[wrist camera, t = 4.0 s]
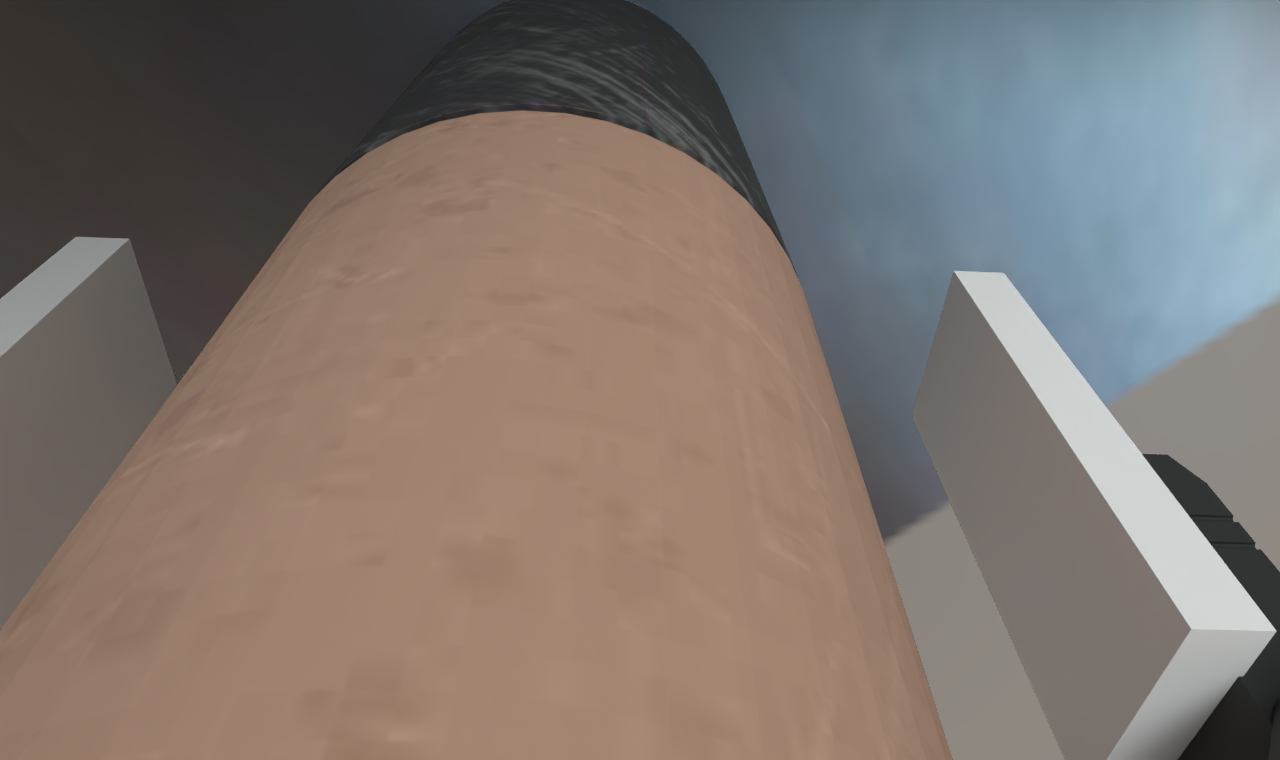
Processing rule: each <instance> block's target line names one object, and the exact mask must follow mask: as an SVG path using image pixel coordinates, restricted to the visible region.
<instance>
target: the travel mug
mask: <svg viewBox="0 0 1280 760" xmlns="http://www.w3.org/2000/svg"><path fill="white" fill-rule="evenodd" d="M0 760H953V759H952V756H951V753H950V750H949V746H948V743H947V740H946V737H945V734H944V731H943V728H942V724H941V721H940V718H939V715H938V712H937V709H936V706H935V702H934V699H933V697H932V693H931V690H930V687H929V684H928V681H927V677H926V675H925V671H924V668H923V665H922V662H921V659H920V655H919V652H918V650H917V646H916V643H915V640H914V637H913V634H912V630H911V628H910V625H909V621H908V618H907V615H906V612H905V609H904V605H903V602H902V599H901V596H900V593H899V590H898V587H897V583H896V580H895V578H894V574H893V571H892V568H891V565H890V562H889V558H888V555H887V552H886V549H885V546H884V543H883V540H882V536H881V533H880V530H879V527H878V524H877V521H876V518H875V515H874V511H873V508H872V505H871V502H870V499H869V496H868V493H867V489H866V486H865V483H864V480H863V477H862V474H861V471H860V468H859V464H858V461H857V458H856V455H855V452H854V449H853V446H852V442H851V439H850V436H849V433H848V430H847V427H846V424H845V421H844V417H843V414H842V411H841V408H840V405H839V402H838V399H837V396H836V392H835V389H834V386H833V383H832V380H831V377H830V374H829V370H828V367H827V364H826V361H825V358H824V355H823V352H822V349H821V345H820V342H819V339H818V336H817V333H816V330H815V327H814V323H813V320H812V317H811V314H810V311H809V308H808V305H807V302H806V298H805V295H804V292H803V289H802V287H801V284H800V282H799V280H798V277H797V274H796V271H795V269H794V266H793V264H792V261H791V259H790V257H789V254H788V252H787V249H786V247H785V244H784V242H783V239H782V237H781V235H780V232H779V230H778V227H777V225H776V222H775V220H774V218H773V215H772V213H771V210H770V208H769V205H768V203H767V201H766V198H765V196H764V193H763V191H762V188H761V186H760V184H759V181H758V179H757V176H756V174H755V171H754V169H753V166H752V164H751V162H750V159H749V157H748V154H747V152H746V149H745V147H744V145H743V142H742V140H741V137H740V135H739V132H738V130H737V128H736V125H735V123H734V120H733V118H732V116H731V113H730V111H729V109H728V106H727V104H726V102H725V100H724V97H723V95H722V93H721V91H720V89H719V86H718V84H717V83H716V81H715V79H714V78H713V76H712V74H711V73H710V71H709V69H708V68H707V66H706V64H705V63H704V61H703V60H702V59H701V58H700V56H699V55H698V54H697V53H696V51H695V50H694V49H693V48H692V46H691V45H690V44H689V43H688V42H687V41H686V40H685V39H684V38H683V37H682V36H681V35H680V34H679V33H678V32H676V31H675V30H674V29H673V28H672V27H671V26H669V25H668V24H666V23H665V22H664V21H662V20H661V19H659V18H658V17H657V16H655V15H654V14H652V13H650V12H648V11H646V10H644V9H642V8H640V7H638V6H636V5H635V4H632V3H629V2H627V1H624V0H511V1H508V2H506V3H503V4H501V5H499V6H497V7H495V8H493V9H492V10H490V11H488V12H486V13H484V14H483V15H481V16H480V17H478V18H477V19H476V20H474V21H473V22H472V23H470V24H469V25H468V26H466V27H465V28H464V29H463V30H461V31H460V32H459V33H458V34H457V35H456V36H455V37H454V38H453V39H452V40H451V41H450V42H449V43H448V44H447V45H446V46H445V47H444V48H443V49H442V50H441V52H440V53H439V54H438V55H437V56H436V57H435V58H434V59H433V60H432V61H431V62H430V63H429V64H428V66H427V67H426V68H425V69H424V70H423V71H422V73H421V74H420V75H419V76H418V77H417V78H416V79H415V81H414V82H413V83H412V84H411V85H410V86H409V88H408V89H407V90H406V91H405V92H404V93H403V95H402V96H401V97H400V98H399V99H398V100H397V101H396V103H395V104H394V105H393V106H392V107H391V108H390V110H389V111H388V112H387V113H386V114H385V115H384V116H383V118H382V119H381V120H380V121H379V122H378V123H377V125H376V126H375V127H374V128H373V129H372V130H371V131H370V133H369V134H368V135H367V136H366V137H365V138H364V140H363V141H362V142H361V143H360V144H359V145H358V146H357V148H356V149H355V150H354V151H353V152H352V153H351V155H350V156H349V157H348V158H347V159H346V160H345V161H344V163H343V164H342V165H341V166H340V167H339V168H338V170H337V171H336V172H335V173H334V174H333V175H332V177H331V178H330V179H329V180H328V181H327V182H326V183H325V185H324V186H323V187H322V188H321V189H320V190H319V192H318V193H317V195H316V196H315V197H314V198H313V200H312V201H311V202H310V203H309V204H308V205H307V207H306V208H305V209H304V211H303V212H302V214H301V215H300V216H299V218H298V219H297V220H296V222H295V223H294V225H293V226H292V227H291V229H290V230H289V232H288V233H287V234H286V236H285V237H284V238H283V240H282V241H281V243H280V244H279V245H278V247H277V248H276V250H275V251H274V252H273V254H272V255H271V256H270V258H269V259H268V261H267V262H266V263H265V265H264V266H263V267H262V269H261V270H260V272H259V273H258V274H257V276H256V277H255V279H254V280H253V281H252V283H251V284H250V285H249V287H248V288H247V290H246V291H245V292H244V294H243V295H242V297H241V298H240V299H239V301H238V302H237V303H236V305H235V306H234V308H233V309H232V310H231V312H230V313H229V315H228V316H227V317H226V319H225V320H224V321H223V323H222V324H221V326H220V327H219V328H218V330H217V331H216V332H215V334H214V335H213V337H212V338H211V339H210V341H209V342H208V344H207V345H206V346H205V348H204V349H203V350H202V352H201V353H200V355H199V356H198V357H197V359H196V360H195V362H194V363H193V364H192V366H191V367H190V368H189V370H188V371H187V373H186V374H185V375H184V377H183V378H182V379H181V381H180V382H179V384H178V385H177V386H176V388H175V389H174V391H173V392H172V393H171V395H170V396H169V397H168V399H167V400H166V402H165V403H164V404H163V406H162V407H161V409H160V410H159V411H158V413H157V414H156V415H155V417H154V418H153V420H152V421H151V422H150V424H149V425H148V427H147V428H146V429H145V431H144V432H143V433H142V435H141V436H140V438H139V439H138V440H137V442H136V443H135V444H134V446H133V447H132V449H131V450H130V451H129V453H128V454H127V456H126V457H125V458H124V460H123V461H122V462H121V464H120V465H119V467H118V468H117V469H116V471H115V472H114V474H113V475H112V476H111V478H110V479H109V480H108V482H107V483H106V485H105V486H104V487H103V489H102V490H101V492H100V493H99V494H98V496H97V497H96V498H95V500H94V501H93V503H92V504H91V505H90V507H89V508H88V509H87V511H86V512H85V514H84V515H83V516H82V518H81V519H80V521H79V522H78V523H77V525H76V526H75V527H74V529H73V530H72V532H71V533H70V534H69V536H68V537H67V539H66V540H65V541H64V543H63V544H62V545H61V547H60V548H59V550H58V551H57V552H56V554H55V555H54V557H53V558H52V559H51V561H50V562H49V563H48V565H47V566H46V568H45V569H44V570H43V572H42V573H41V574H40V576H39V577H38V579H37V580H36V581H35V583H34V584H33V586H32V587H31V588H30V590H29V591H28V592H27V594H26V595H25V597H24V598H23V599H22V601H21V602H20V604H19V605H18V606H17V608H16V609H15V610H14V612H13V613H12V615H11V616H10V617H9V619H8V620H7V621H6V623H5V624H4V626H3V627H2V628H1V630H0Z"/></svg>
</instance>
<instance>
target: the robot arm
mask: <svg viewBox="0 0 1280 760" xmlns="http://www.w3.org/2000/svg"><path fill="white" fill-rule="evenodd" d="M176 386H177V383H176V380H175V377H174V374H173V371H172V368H171V365H170V362H169V359H168V355H167V352H166V349H165V346H164V343H163V340H162V337H161V334H160V331H159V328H158V325H157V322H156V319H155V315H154V312H153V309H152V306H151V303H150V300H149V297H148V294H147V291H146V288H145V285H144V282H143V279H142V275H141V272H140V269H139V266H138V263H137V260H136V257H135V254H134V251H133V248H132V245H131V242H130V239H122V238H96V237H75V238H74V239H73V240H71V241H70V242H69V243H68V244H66V245H65V246H64V247H63V248H62V249H60V250H59V251H58V252H57V253H55V254H54V255H53V256H52V257H51V258H49V259H48V260H47V261H46V262H45V263H43V264H42V265H41V266H40V267H38V268H37V269H36V270H35V271H34V272H32V273H31V274H30V275H29V276H27V277H26V278H25V279H24V280H23V281H21V282H20V283H19V284H18V285H17V286H15V287H14V288H13V289H12V290H10V291H9V292H8V293H7V294H6V295H4V296H3V297H2V298H1V299H0V630H1V628H2V627H3V626H4V624H5V623H6V621H7V620H8V619H9V617H10V616H11V615H12V613H13V612H14V610H15V609H16V608H17V606H18V605H19V604H20V602H21V601H22V599H23V598H24V597H25V595H26V594H27V592H28V591H29V590H30V588H31V587H32V586H33V584H34V583H35V581H36V580H37V579H38V577H39V576H40V574H41V573H42V572H43V570H44V569H45V568H46V566H47V565H48V563H49V562H50V561H51V559H52V558H53V557H54V555H55V554H56V552H57V551H58V550H59V548H60V547H61V545H62V544H63V543H64V541H65V540H66V539H67V537H68V536H69V534H70V533H71V532H72V530H73V529H74V527H75V526H76V525H77V523H78V522H79V521H80V519H81V518H82V516H83V515H84V514H85V512H86V511H87V509H88V508H89V507H90V505H91V504H92V503H93V501H94V500H95V498H96V497H97V496H98V494H99V493H100V492H101V490H102V489H103V487H104V486H105V485H106V483H107V482H108V480H109V479H110V478H111V476H112V475H113V474H114V472H115V471H116V469H117V468H118V467H119V465H120V464H121V462H122V461H123V460H124V458H125V457H126V456H127V454H128V453H129V451H130V450H131V449H132V447H133V446H134V444H135V443H136V442H137V440H138V439H139V438H140V436H141V435H142V433H143V432H144V431H145V429H146V428H147V427H148V425H149V424H150V422H151V421H152V420H153V418H154V417H155V415H156V414H157V413H158V411H159V410H160V409H161V407H162V406H163V404H164V403H165V402H166V400H167V399H168V397H169V396H170V395H171V393H172V392H173V391H174V389H175V388H176ZM912 418H913V420H914V422H915V424H916V427H917V429H918V431H919V433H920V436H921V438H922V440H923V442H924V445H925V447H926V449H927V451H928V454H929V456H930V458H931V460H932V463H933V465H934V467H935V469H936V472H937V474H938V476H939V478H940V481H941V483H942V485H943V487H944V490H945V492H946V494H947V496H948V499H949V501H950V503H951V505H952V508H953V510H954V512H955V514H956V516H957V519H958V521H959V523H960V526H961V528H962V530H963V532H964V534H965V537H966V539H967V541H968V543H969V546H970V548H971V550H972V553H973V555H974V557H975V559H976V561H977V564H978V566H979V568H980V570H981V573H982V575H983V577H984V579H985V582H986V584H987V586H988V588H989V591H990V593H991V595H992V597H993V600H994V602H995V604H996V606H997V609H998V611H999V613H1000V615H1001V618H1002V620H1003V622H1004V625H1005V627H1006V629H1007V631H1008V633H1009V636H1010V638H1011V640H1012V642H1013V645H1014V647H1015V649H1016V651H1017V653H1018V656H1019V658H1020V660H1021V663H1022V665H1023V667H1024V669H1025V672H1026V674H1027V676H1028V678H1029V681H1030V683H1031V685H1032V687H1033V690H1034V692H1035V694H1036V696H1037V699H1038V701H1039V703H1040V705H1041V707H1042V710H1043V712H1044V714H1045V717H1046V719H1047V721H1048V723H1049V726H1050V728H1051V730H1052V732H1053V735H1054V737H1055V739H1056V741H1057V744H1058V746H1059V748H1060V750H1061V753H1062V755H1063V757H1064V759H1065V760H1280V572H1279V571H1278V570H1277V568H1276V567H1275V566H1274V565H1273V564H1272V562H1271V561H1270V560H1269V559H1268V557H1267V556H1266V555H1265V554H1264V553H1263V551H1261V550H1256V548H1255V542H1254V540H1253V539H1252V538H1251V537H1250V536H1249V534H1248V533H1247V532H1246V531H1245V529H1243V527H1242V526H1241V525H1240V523H1239V522H1233V515H1232V514H1231V512H1230V511H1229V510H1228V509H1227V508H1226V506H1225V505H1224V504H1223V503H1222V502H1221V500H1220V499H1219V498H1218V497H1217V495H1216V494H1215V493H1214V492H1213V491H1212V489H1211V488H1210V487H1209V486H1208V484H1207V483H1205V482H1204V481H1203V480H1201V479H1200V478H1199V477H1197V476H1196V475H1194V474H1193V473H1192V472H1190V471H1189V470H1187V469H1186V468H1185V467H1183V466H1182V465H1180V464H1179V463H1178V462H1177V461H1175V460H1174V459H1172V458H1171V457H1170V456H1168V455H1156V454H1155V455H1154V454H1141V452H1140V451H1139V450H1138V449H1137V447H1136V446H1135V444H1134V443H1133V442H1132V441H1131V439H1130V438H1129V437H1128V435H1127V434H1126V433H1125V431H1124V430H1123V429H1122V428H1121V426H1120V425H1119V423H1118V422H1117V421H1116V420H1115V418H1114V417H1113V416H1112V414H1111V413H1110V412H1109V410H1108V409H1107V408H1106V406H1105V405H1104V404H1103V402H1102V401H1101V400H1100V399H1099V397H1098V396H1097V395H1096V393H1095V392H1094V391H1093V389H1092V388H1091V387H1090V385H1089V384H1088V383H1087V381H1086V380H1085V379H1084V378H1083V376H1082V375H1081V374H1080V372H1079V371H1078V370H1077V368H1076V367H1075V366H1074V364H1073V363H1072V362H1071V360H1070V359H1069V358H1068V357H1067V355H1066V354H1065V353H1064V351H1063V350H1062V349H1061V347H1060V346H1059V345H1058V343H1057V342H1056V341H1055V340H1054V338H1053V337H1052V336H1051V334H1050V333H1049V332H1048V330H1047V329H1046V328H1045V326H1044V325H1043V324H1042V322H1041V321H1040V320H1039V319H1038V317H1037V316H1036V315H1035V313H1034V312H1033V311H1032V309H1031V308H1030V307H1029V305H1028V304H1027V303H1026V301H1025V300H1024V299H1023V298H1022V296H1021V295H1020V294H1019V292H1018V291H1017V290H1016V288H1015V287H1014V286H1013V284H1012V283H1011V282H1010V280H1009V279H1008V278H1007V277H1006V275H1005V274H1004V273H992V272H966V271H954V273H953V276H952V279H951V283H950V286H949V290H948V293H947V297H946V300H945V303H944V307H943V310H942V314H941V317H940V320H939V324H938V327H937V331H936V334H935V338H934V341H933V344H932V348H931V351H930V355H929V358H928V361H927V365H926V368H925V372H924V375H923V379H922V382H921V385H920V389H919V392H918V396H917V399H916V402H915V406H914V409H913V413H912Z"/></svg>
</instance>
